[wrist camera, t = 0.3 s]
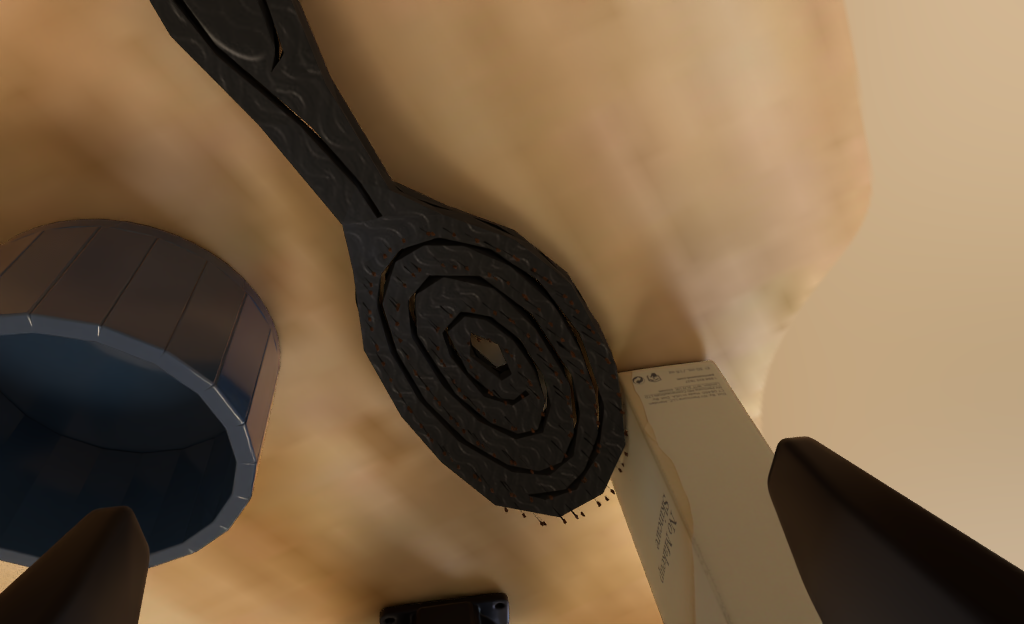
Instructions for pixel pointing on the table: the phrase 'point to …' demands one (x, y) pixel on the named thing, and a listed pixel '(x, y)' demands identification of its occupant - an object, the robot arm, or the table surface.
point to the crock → (127, 386)
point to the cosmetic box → (704, 502)
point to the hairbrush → (429, 280)
